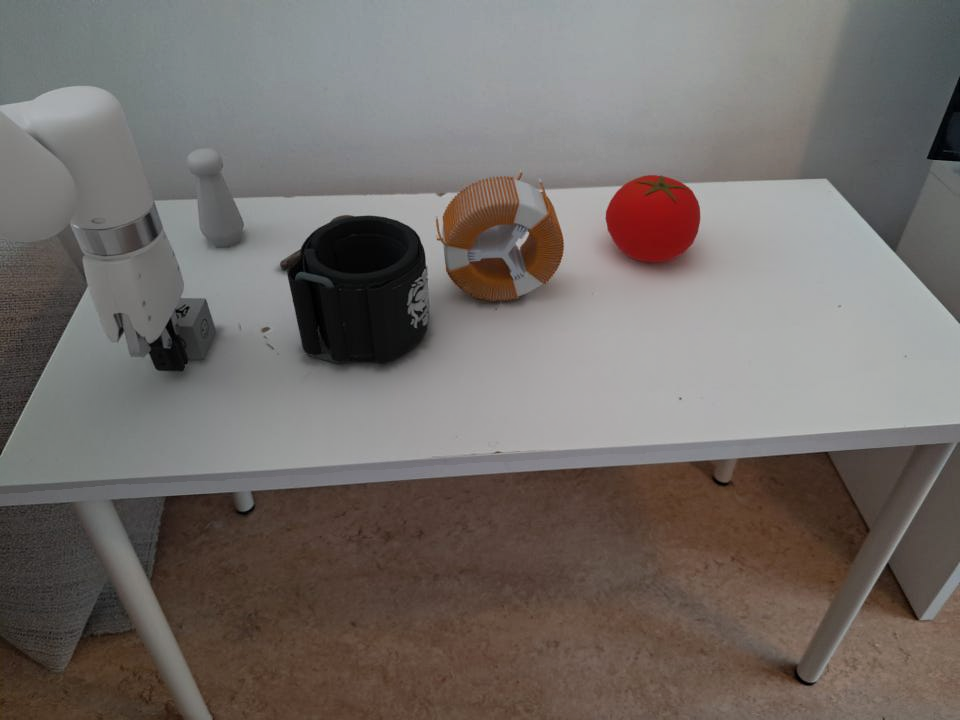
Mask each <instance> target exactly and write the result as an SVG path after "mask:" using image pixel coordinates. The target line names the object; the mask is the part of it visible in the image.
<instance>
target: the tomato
mask: <svg viewBox="0 0 960 720" xmlns="http://www.w3.org/2000/svg"><path fill="white" fill-rule="evenodd" d="M605 222H606V227H607V228H606V229H607V232H608V233H609V235H610V237H611V239H612V241H613V242H614V244H615V245H616V246H617V248H618V249H619V250H620V251H621V252H623V254H625V255H627V257H630V258H632V259H634V260H637V261H640V262H645V263H662V262H667V261H671V260H673V259H676V258H678V257H679V256H680V255H682V254H684V253H685V252H686V251H687V250H688V249H689V248H690V247H691V246H692V245H693V244H694V242H695V239H696V238H697V235H698V233H699V229H700V224H701V207H700V204H699V200H698V198H697V197H696V195H695V193H694V191H693V190H692V189H691V187H688V185H686V184H684V183H683V182H681V181H679V180H677V179H674V178H671V177H668V176H663V175H662V174H661V175H657V174H656V175H655V174H648V175H642V176H639V177H636V178H634V179H632V180H630V181H628V182H626V183H624V184H623V185H622V186H621V187H620V188H619V189H618V190H617V191H616V192H615V193H614V195H613V196H612V198H611V199H610V201H609V203H608V205H607V208H606V209H605Z"/></svg>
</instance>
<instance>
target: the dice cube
mask: <svg viewBox="0 0 960 720" xmlns="http://www.w3.org/2000/svg"><path fill="white" fill-rule="evenodd" d="M175 309H176V311H175V312H176V316H177V319H178V323H179V333H178V334H176V335H180V338H181V340H182V343H183V346H184V349H185V351H186V354H187V357H188V359H189V360H190V361H191V360H197V361H199V360H200V361H204V360H205V358H206V356H207V354H208V351H209V349H210V346H211V345H212V342H213V340H214V338H215V335H216V333H217V329H216V327H215V322H214V320H213V317H212V313H211V310H210V308H209V304H208V301H207V298H199V297H197V298H195V297H194V298H193V297H181V298H180V300H179V302H178V304H177V306H176V308H175Z"/></svg>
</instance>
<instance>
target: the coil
mask: <svg viewBox="0 0 960 720" xmlns="http://www.w3.org/2000/svg"><path fill="white" fill-rule="evenodd" d="M519 172H520V173H519V175H518V176H517V179H515V178H514V177H513V176H509V175H508V176H505V175H504V176H502V175H500V176H498V175H497V176H492V177H490V176H489V178H487V177H486V178H485V179H484V178H482V179H481V180H478V181H474V182H472V183H471V184H468V186H465V187H464V188H462V190H460V191H459V192H458V193H457V194H456V195H455V196H454V197H453V198H452V199H451V200H450V201H449V203H448V204H447V206H445V207H446V208H445V209H444V212H443V215H442V229H441V230H442V231H441V232H440V224H439V218H438V217H439V216H438V215H435V225H436V232H437V234H436V241H440V242H441V244H442V245H443V254H444V264H445V272H446V274H447V276H448V277H449V279H450V281H452V283H453V284H454V285H455V286H456V287H457V288H459V290H461V291H462V292H464V293H465V294H468V295H469V296H470V297H473V298H476V299H479V300H483V301H485V300H486V301H487V302H488V301H489V302H502V301H503V302H505V301H507V302H508V301H509V300H510V301H512V300H519V299H520V297H521V296H523V295H527V294H529V293H531V292H533V291H534V290H536V289H537V288H539V287H540V286H542V285H546V284H547V283H548V282H549V281H550V280H551V279H552V277H554V275H555V274H556V272H557V270H558V269H559V267H560V265H561V263H562V260H563V256H564V250H565V241H564V235H563V231H562V228H561V225H560V222H559V219H558V215H557V213H556V210H555V207H554V205H553V203H552V202H551V199H550V197H549V196H548V195H547V193H546V190H545V188H544V187H545V186H544V184H543V181H542V179H541V178H539V179H538V181H539V184H540V187H541V190H542V191H540V190H539V189H537V188H536V187H535V186H533V185H531V184H530V183H527V182H525V181H522V180H521V178H522V176H523V170H522V168H519ZM527 233H528V235H527V237H526V239H525V241H524V242H523V243H522V244H521V245H520V247H518V245H517V242H518V241H519V240H522V239H523V238H524V236H525V235H526V234H527Z"/></svg>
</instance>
